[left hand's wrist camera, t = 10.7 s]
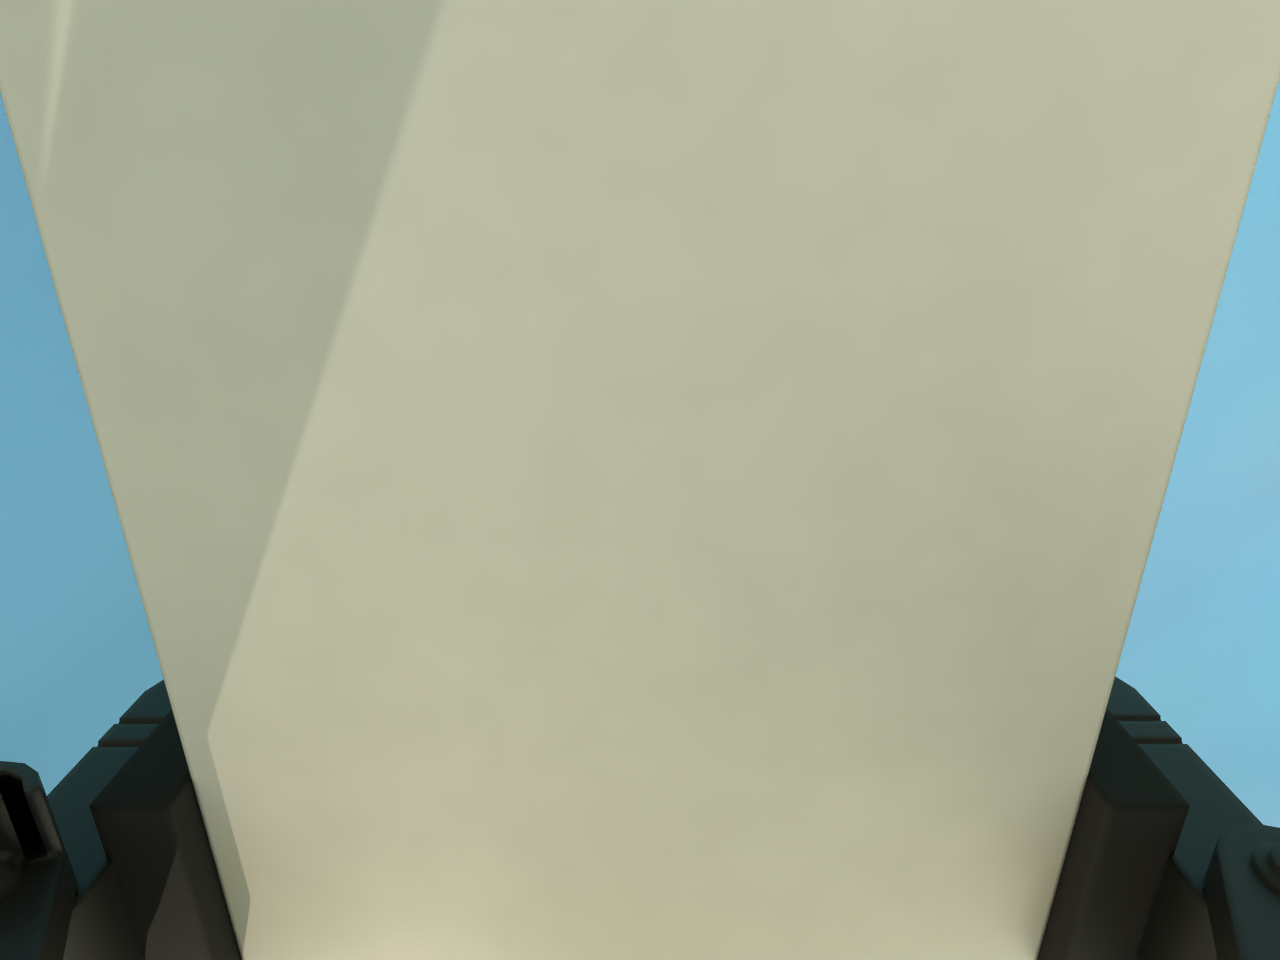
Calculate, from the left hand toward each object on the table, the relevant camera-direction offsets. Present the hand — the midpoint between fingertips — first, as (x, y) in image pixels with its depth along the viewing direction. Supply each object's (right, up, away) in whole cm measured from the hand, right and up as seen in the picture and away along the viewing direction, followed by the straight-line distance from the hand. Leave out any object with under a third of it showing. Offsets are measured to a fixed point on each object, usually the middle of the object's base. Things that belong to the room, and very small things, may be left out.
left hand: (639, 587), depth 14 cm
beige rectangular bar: (0, +27, -11) cm, 29 cm away
